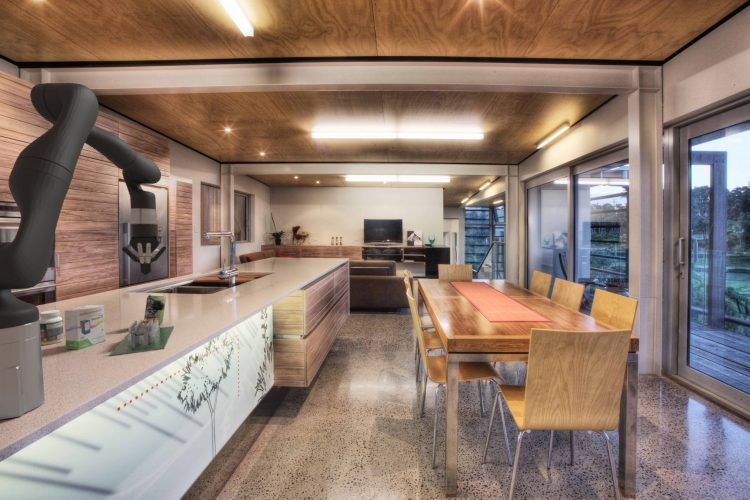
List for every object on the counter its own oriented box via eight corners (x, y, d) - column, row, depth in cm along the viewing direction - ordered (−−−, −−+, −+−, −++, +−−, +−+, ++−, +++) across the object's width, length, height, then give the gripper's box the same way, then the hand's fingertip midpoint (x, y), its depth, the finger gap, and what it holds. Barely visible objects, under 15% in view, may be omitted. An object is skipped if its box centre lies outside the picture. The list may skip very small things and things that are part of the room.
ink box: (93, 339, 110) (91, 304, 109) (106, 340, 109) (104, 304, 108) (64, 349, 101) (62, 310, 100) (78, 350, 100) (76, 311, 99)
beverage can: (145, 324, 127) (144, 293, 127) (168, 322, 130) (166, 291, 130) (142, 328, 122) (140, 296, 121) (165, 326, 125) (164, 294, 124)
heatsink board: (164, 348, 101) (163, 328, 100) (110, 355, 95) (109, 334, 95) (173, 327, 123) (173, 310, 123) (130, 331, 118) (130, 314, 118)
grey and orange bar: (146, 335, 101) (146, 332, 101) (131, 336, 99) (131, 333, 99) (156, 320, 118) (156, 317, 118) (144, 321, 117) (144, 318, 116)
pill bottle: (35, 343, 106) (33, 312, 106) (59, 338, 111) (57, 308, 111) (43, 346, 104) (41, 314, 103) (67, 341, 109) (65, 310, 108)
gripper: (116, 222, 106) (119, 277, 107) (165, 222, 112) (167, 274, 113) (122, 223, 113) (125, 274, 114) (168, 223, 118) (170, 272, 119)
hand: (146, 274), depth 113 cm, fingers closed
